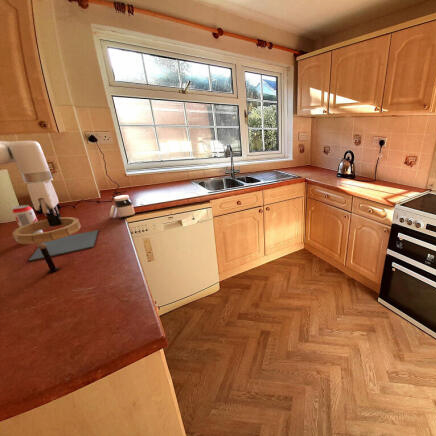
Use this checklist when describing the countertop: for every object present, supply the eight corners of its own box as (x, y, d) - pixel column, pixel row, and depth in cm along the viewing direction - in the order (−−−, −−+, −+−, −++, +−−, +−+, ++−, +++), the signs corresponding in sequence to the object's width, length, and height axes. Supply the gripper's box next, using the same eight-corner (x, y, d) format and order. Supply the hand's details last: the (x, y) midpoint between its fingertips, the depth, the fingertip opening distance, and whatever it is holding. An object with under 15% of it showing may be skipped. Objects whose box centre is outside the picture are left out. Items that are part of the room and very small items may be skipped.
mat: (29, 261, 94) (28, 260, 94) (44, 241, 110) (43, 240, 110) (93, 247, 103) (92, 246, 103) (98, 231, 119) (97, 230, 119)
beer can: (25, 243, 109) (8, 210, 103) (28, 238, 113) (12, 206, 107) (44, 239, 112) (29, 206, 106) (46, 235, 117) (32, 203, 111)
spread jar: (137, 216, 136) (131, 196, 132) (113, 222, 129) (106, 201, 125) (131, 211, 145) (126, 192, 140) (109, 217, 137) (102, 197, 133)
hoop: (8, 248, 76) (4, 240, 75) (26, 230, 90) (23, 222, 89) (76, 236, 85) (73, 228, 83) (83, 221, 98) (81, 214, 97)
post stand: (48, 273, 86) (34, 245, 82) (50, 270, 88) (37, 242, 84) (57, 271, 87) (44, 243, 83) (59, 267, 89) (47, 240, 85)
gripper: (30, 174, 91) (49, 220, 98) (14, 182, 78) (37, 234, 85) (56, 172, 94) (73, 216, 101) (45, 179, 82) (65, 229, 89)
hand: (56, 224), depth 93 cm, fingers closed on hoop, 1 cm apart
